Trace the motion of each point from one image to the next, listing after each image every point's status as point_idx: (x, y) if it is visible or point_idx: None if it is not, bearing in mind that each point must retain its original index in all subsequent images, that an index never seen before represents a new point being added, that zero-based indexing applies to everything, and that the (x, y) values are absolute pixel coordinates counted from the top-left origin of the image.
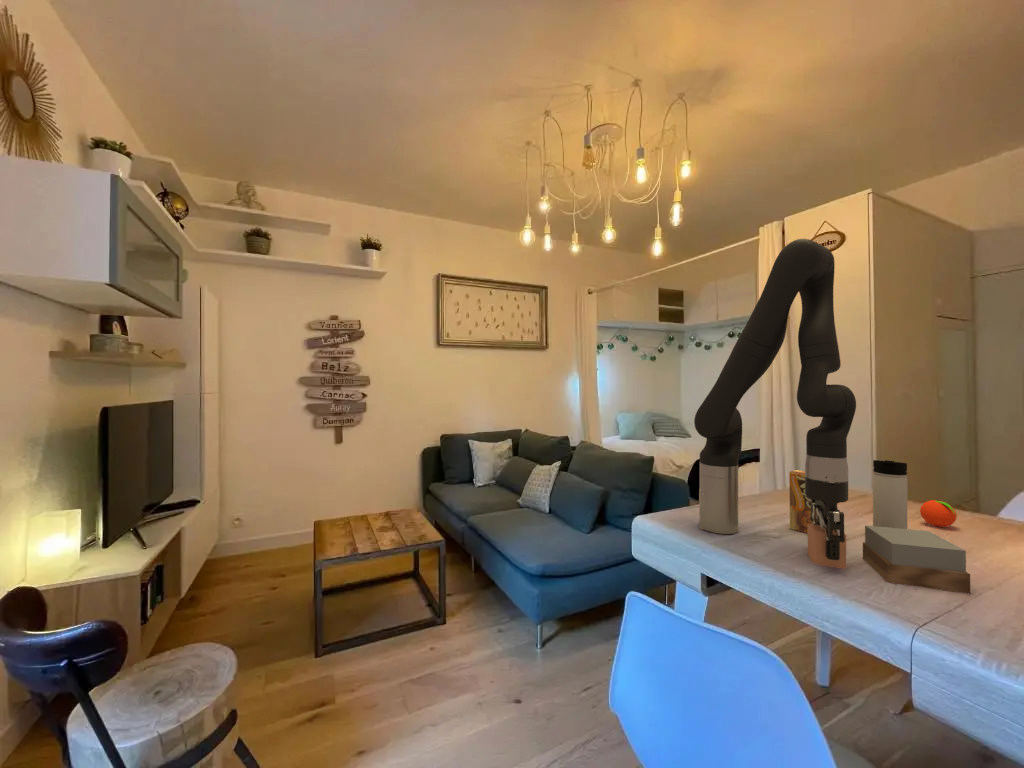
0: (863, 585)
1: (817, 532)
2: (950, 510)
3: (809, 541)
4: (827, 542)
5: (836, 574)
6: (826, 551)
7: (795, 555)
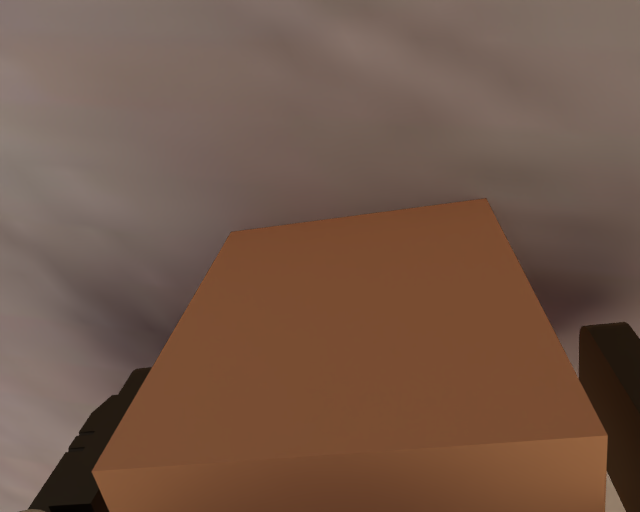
0: (22, 459)
1: (115, 498)
2: None
3: (422, 288)
4: (63, 498)
5: (106, 352)
6: (113, 407)
7: (398, 81)
